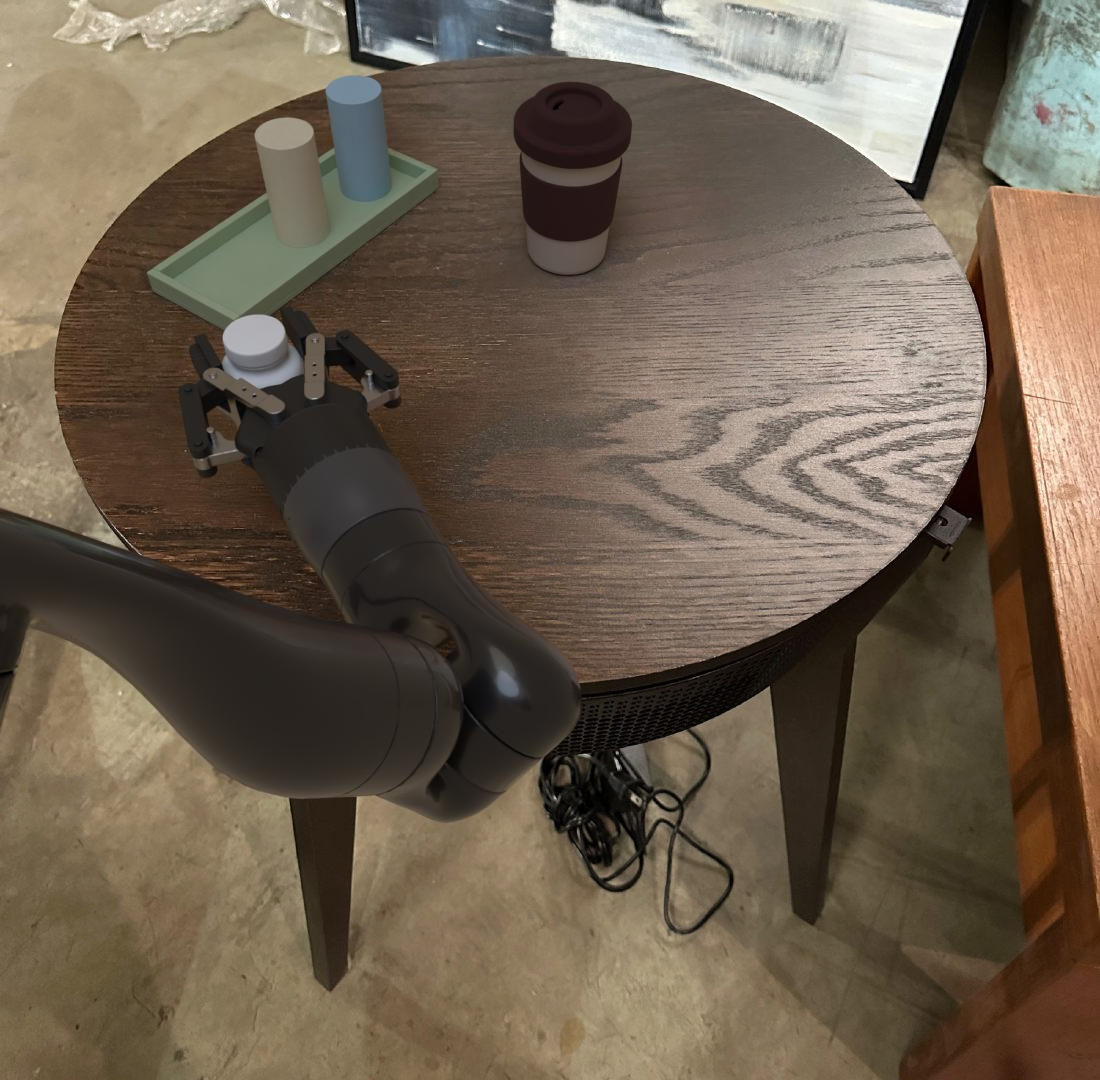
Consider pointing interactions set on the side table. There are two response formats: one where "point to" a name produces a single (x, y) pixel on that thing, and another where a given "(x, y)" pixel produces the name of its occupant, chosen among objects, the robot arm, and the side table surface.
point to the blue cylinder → (359, 137)
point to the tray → (281, 247)
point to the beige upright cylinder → (293, 181)
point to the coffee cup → (570, 173)
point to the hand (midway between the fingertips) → (244, 331)
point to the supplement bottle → (260, 352)
